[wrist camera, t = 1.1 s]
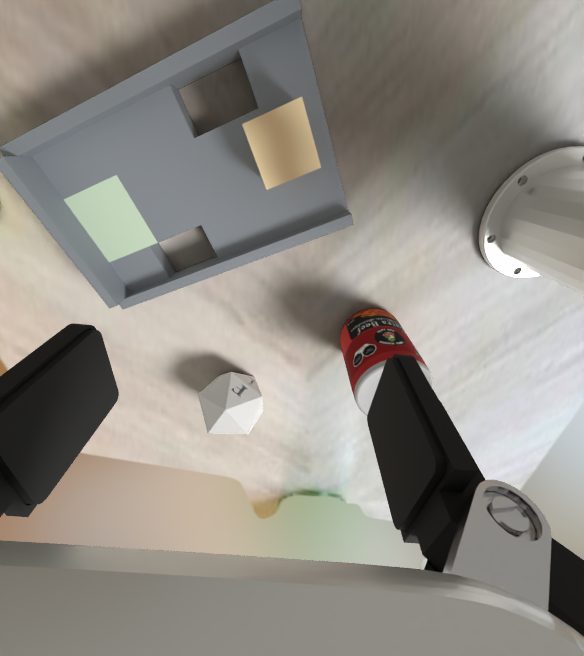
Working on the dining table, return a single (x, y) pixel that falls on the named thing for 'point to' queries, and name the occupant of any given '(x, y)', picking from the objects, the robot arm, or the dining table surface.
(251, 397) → the die
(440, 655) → the robot arm
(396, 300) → the dining table surface
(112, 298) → the box
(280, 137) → the block
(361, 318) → the canned food
